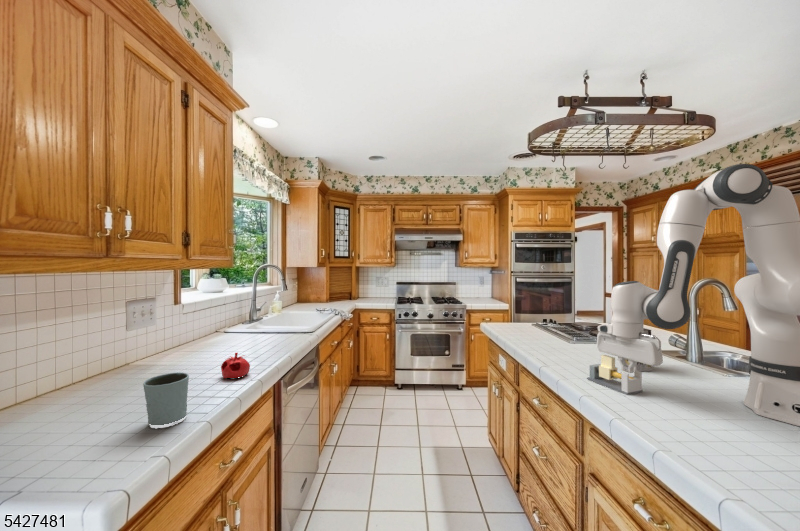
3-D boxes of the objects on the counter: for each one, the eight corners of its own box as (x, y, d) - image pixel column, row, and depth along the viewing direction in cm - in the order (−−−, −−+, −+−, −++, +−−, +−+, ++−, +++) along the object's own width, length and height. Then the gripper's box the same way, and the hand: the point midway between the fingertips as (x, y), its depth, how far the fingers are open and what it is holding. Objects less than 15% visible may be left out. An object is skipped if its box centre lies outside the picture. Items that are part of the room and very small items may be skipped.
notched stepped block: (617, 378, 114) (617, 357, 114) (609, 380, 113) (609, 358, 113) (607, 375, 118) (606, 354, 118) (598, 376, 117) (598, 355, 117)
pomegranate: (234, 372, 132) (234, 349, 132) (255, 373, 130) (255, 350, 130) (214, 380, 123) (214, 355, 123) (236, 382, 120) (236, 356, 120)
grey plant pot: (195, 412, 96) (195, 371, 96) (178, 429, 86) (178, 383, 86) (157, 415, 94) (156, 373, 94) (135, 433, 84) (134, 386, 84)
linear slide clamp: (642, 391, 108) (642, 371, 108) (626, 394, 106) (626, 374, 106) (601, 377, 122) (601, 359, 122) (586, 379, 120) (586, 361, 120)
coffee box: (652, 371, 128) (652, 329, 128) (635, 371, 128) (635, 330, 128) (635, 364, 137) (635, 325, 137) (620, 364, 137) (620, 325, 137)
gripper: (667, 335, 100) (668, 380, 100) (606, 324, 120) (607, 362, 120) (652, 337, 98) (653, 383, 98) (593, 325, 118) (593, 364, 118)
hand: (627, 371), depth 109 cm, fingers closed
